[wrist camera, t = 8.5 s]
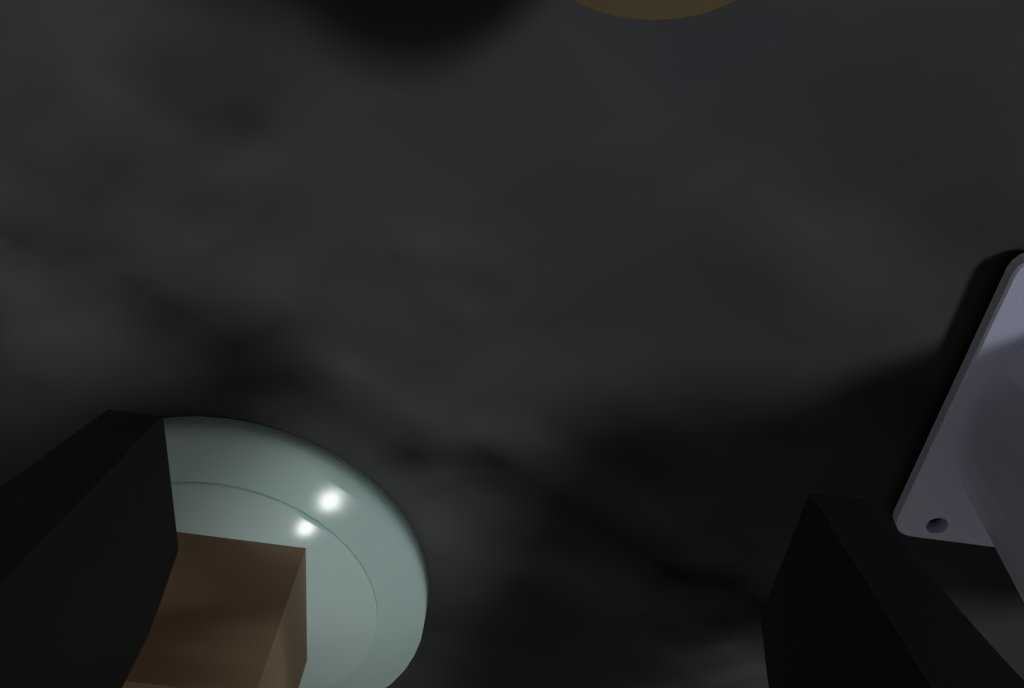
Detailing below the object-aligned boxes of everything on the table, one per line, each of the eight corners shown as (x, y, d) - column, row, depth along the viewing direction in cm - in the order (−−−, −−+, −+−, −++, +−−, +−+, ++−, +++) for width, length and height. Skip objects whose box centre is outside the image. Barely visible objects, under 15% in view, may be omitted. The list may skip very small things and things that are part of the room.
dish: (443, 446, 23) (437, 477, 22) (417, 713, 29) (412, 747, 28) (11, 389, 23) (-15, 419, 22) (73, 669, 29) (55, 702, 28)
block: (305, 547, 24) (254, 697, 20) (307, 659, 26) (261, 811, 22) (133, 525, 24) (49, 671, 20) (150, 640, 26) (78, 788, 22)
